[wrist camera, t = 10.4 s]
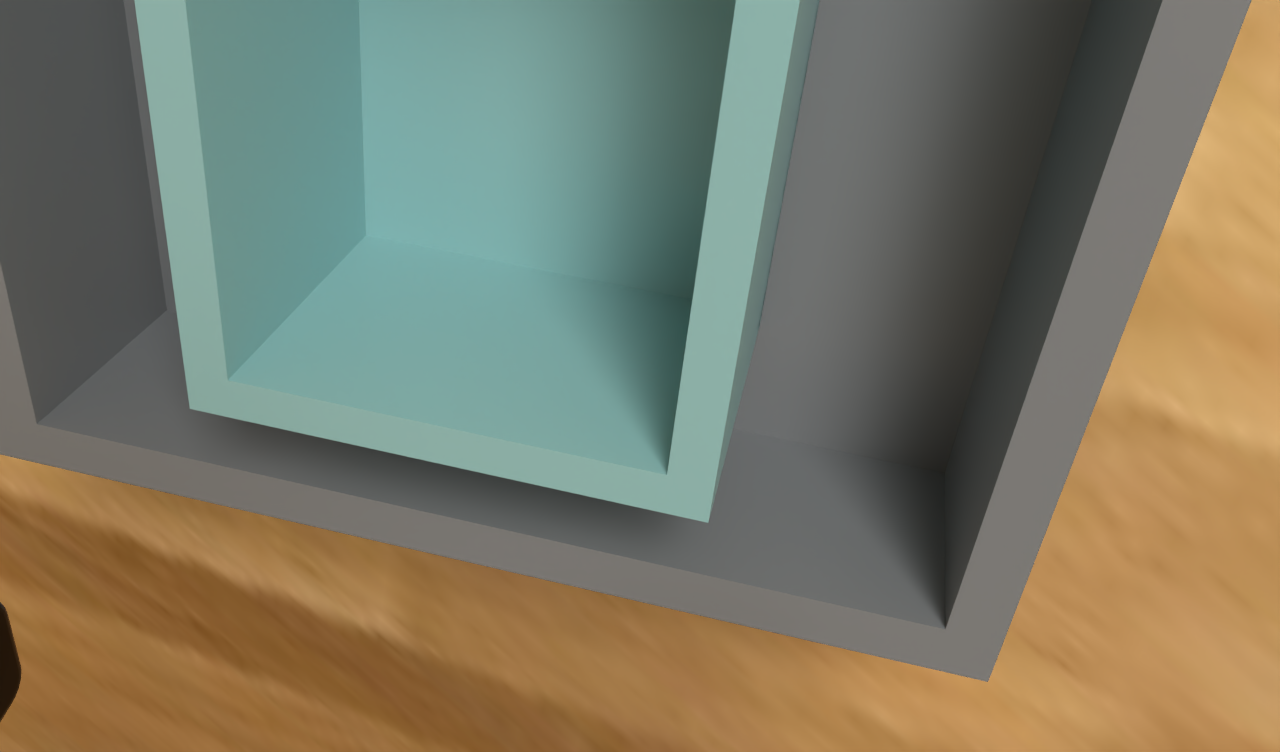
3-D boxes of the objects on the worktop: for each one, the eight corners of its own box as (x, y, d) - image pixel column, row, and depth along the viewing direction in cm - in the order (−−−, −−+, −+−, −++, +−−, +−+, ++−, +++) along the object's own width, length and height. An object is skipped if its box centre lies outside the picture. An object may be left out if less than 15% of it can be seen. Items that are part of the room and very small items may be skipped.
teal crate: (898, -426, 13) (878, -452, 9) (759, 327, 19) (708, 522, 15) (317, -493, 14) (60, -546, 10) (347, 245, 20) (189, 408, 16)
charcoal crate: (1380, -700, 12) (1579, -849, 8) (979, 491, 20) (988, 681, 17) (-10, -817, 14) (-360, -980, 10) (156, 318, 22) (-1, 453, 19)
